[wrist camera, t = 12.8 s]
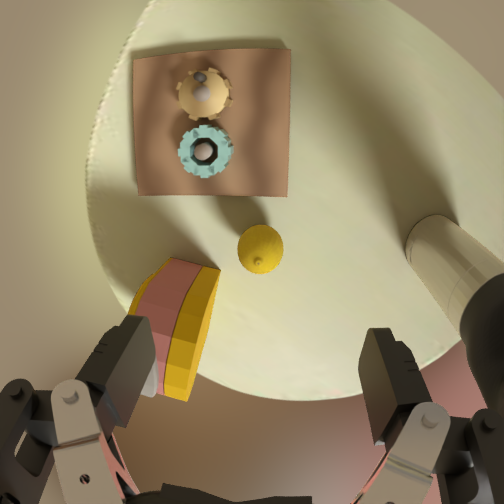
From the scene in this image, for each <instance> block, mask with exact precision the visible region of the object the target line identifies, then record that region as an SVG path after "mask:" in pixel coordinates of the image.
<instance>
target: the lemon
mask: <svg viewBox="0 0 504 504" xmlns="http://www.w3.org/2000/svg"><path fill="white" fill-rule="evenodd" d="M282 255H283V242H282V239H281V237H280V235H279V234H278V232H277V231H276V230H274V229H273V228H272V227H270V226H267V225H255V226H252V227H250V228H248V229H247V230H246V231H245V232H244V233H243V234H242V236H241V237H240V239H239V243H238V256H239V260H240V262H241V264H242V265H243V266H244V267H245V268H246V269H247V270H248V271H250V272H252V273H255V274H265V273H268V272H270V271H272V270H273V269H275V268H276V266H277V265H278V264H279V262H280V260H281V258H282Z"/></svg>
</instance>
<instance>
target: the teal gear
mask: <svg viewBox="0 0 504 504" xmlns="http://www.w3.org/2000/svg"><path fill="white" fill-rule="evenodd" d="M227 135H228V133H227V132H226V131H225V130H224V129H221V130H220V129H219V128H218V127H212V125H199V127H198V128H193V129H192V130H190V131H187V132H186V133H185V134H184V135H183V136H182V137H183V138H184V139H183V140H182V141H181V142H180V148H178V156H181V163H182V164H183V165H184V166H185V167H184V169H185V170H186V171H187V172H188V173H190V172H192V173H193V174H194V175H200V177H201V178H209V177H210V176H211V175H215V174H216V173H217V172H218V171H219V172H220V173H221V172H222V171H223V170H224V169H225V168H226V167H227V166H228V165H229V164H228V163H227V162H228V161H229V160H230V159H231V155H232V154H233V153H234V145H231V139H230V138H229V137H228V136H227ZM201 138H210V139H211V140H212V141H214V142H215V143H216V144H217V145H218V158H217V159H216V160H215V161H214V162H206V163H203V162H202V161H201V160H199V159H197V158H196V157H195V155H194V150H195V144H196V143H197V142H198V141H199V140H200V139H201Z"/></svg>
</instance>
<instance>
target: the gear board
mask: <svg viewBox="0 0 504 504" xmlns="http://www.w3.org/2000/svg"><path fill="white" fill-rule="evenodd" d="M290 69H291V49H221V50H205V51H194V52H184V53H175V54H167V55H160V56H153V57H147V58H141V59H135V60H133V115H134V141H135V158H136V172H137V185H138V195H139V196H154V195H227V196H268V197H287V191H288V164H289V130H290ZM199 125H212V127H218V128H219V129H220V130H221V129H224V130H225V131H226V132H227V133H228V135H227V136H228V137H229V138H230V139H231V145H234V153H233V154H232V155H231V159H230V160H229V161H228V162H227V163H228V164H229V165H228V166H227V167H226V168H225V169H224V170H223V171H222V172H221V173H220V172H219V171H218V172H217V173H216V174H215V175H211V176H210V177H209V178H201V177H200V175H194V174H193V173H192V172H190V173H188V172H187V171H186V170H185V169H184V167H185V166H184V165H183V164H182V163H181V156H178V148H180V142H181V141H182V140H183V139H184V138H183V137H182V136H183V135H184V134H185V133H186V132H187V131H190V130H192V129H193V128H198V127H199ZM194 155H195V157H196V158H197V159H199V160H201V161H202V162H203V163H206V162H214V161H215V160H216V159H217V158H218V145H217V144H216V143H215V142H214V141H212V140H211V139H210V138H201V139H200V140H199V141H198V142H197V143H196V144H195V150H194Z"/></svg>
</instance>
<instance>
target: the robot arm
mask: <svg viewBox="0 0 504 504" xmlns="http://www.w3.org/2000/svg"><path fill="white" fill-rule="evenodd" d="M405 250H406V257H407V260H408V262H409V264H410V266H411V267H412V268H413V270H414V271H415V272H416V274H417V275H418V276H419V278H420V279H421V280H422V282H423V283H424V285H425V286H426V287H427V289H428V290H429V291H430V293H431V294H432V296H433V297H434V298H435V300H436V301H437V303H438V304H439V306H440V307H441V308H442V310H443V311H444V313H445V314H446V316H447V317H448V319H449V320H450V322H451V323H452V325H453V326H454V328H455V329H456V331H457V332H458V334H459V335H460V337H461V338H462V340H463V342H464V344H465V345H466V352H467V360H468V364H469V367H470V369H471V372H472V374H473V376H474V378H475V380H476V382H477V384H478V387H479V389H480V391H481V393H482V396H483V398H484V400H485V403H486V405H487V407H488V409H486V408H485V409H481V410H478V411H477V412H476V413H475V414H474V416H473V417H472V418H471V419H470V418H461V417H452V416H449V414H448V412H447V411H446V409H445V408H444V407H442V406H441V405H439V404H437V403H433V401H432V399H431V397H430V394H429V392H428V389H427V387H426V384H425V382H424V380H423V377H422V375H421V372H420V371H419V368H418V365H417V363H415V358H414V356H413V354H412V352H411V350H410V349H409V348H408V347H407V346H406V345H405V344H404V343H403V342H402V341H395V339H394V336H393V334H392V332H391V330H390V328H369V329H368V331H367V334H366V338H365V341H364V345H363V348H362V352H361V355H360V358H359V365H358V371H359V377H360V381H361V386H362V390H363V394H364V399H365V403H366V408H367V412H368V417H369V421H370V427H371V431H372V436H373V441H374V445H384V444H385V448H386V452H385V453H384V455H383V457H382V458H381V460H380V462H379V463H378V465H377V466H376V468H375V469H374V471H373V472H372V474H371V476H370V477H369V479H368V480H367V482H366V483H365V484H364V486H363V487H362V489H361V490H360V492H359V493H358V494H357V496H356V497H355V498H354V499H353V501H352V502H351V503H350V504H422V502H423V500H424V498H425V497H426V494H427V492H428V490H429V488H430V486H431V484H432V480H433V477H431V476H430V475H431V473H433V474H437V479H438V484H439V490H440V496H441V502H442V504H504V263H503V262H502V261H501V260H500V259H499V258H497V257H496V256H495V255H494V254H493V253H492V252H491V251H489V250H488V249H487V248H486V247H484V246H483V245H482V244H481V243H480V242H478V241H477V240H476V239H475V238H473V237H472V236H471V235H469V234H468V233H467V232H466V231H464V230H463V229H462V228H460V227H459V226H458V225H456V224H455V223H453V222H452V221H451V220H449V219H448V218H447V217H444V216H441V215H432V216H429V217H426V218H424V219H423V220H421V221H420V222H419V223H417V224H416V225H415V226H414V228H413V229H412V231H411V232H410V234H409V236H408V239H407V242H406V249H405ZM155 355H156V349H155V344H154V339H153V335H152V331H151V326H150V322H149V319H148V317H146V316H138V315H130V314H128V315H127V316H126V317H125V318H124V320H123V322H122V323H121V324H120V326H114V327H113V328H111V329H110V330H109V331H107V332H106V333H105V334H104V335H103V337H102V338H101V340H100V341H99V344H98V345H97V346H96V347H95V349H94V352H92V353H91V355H90V356H89V358H88V359H87V361H86V362H85V364H84V366H83V367H82V369H81V370H80V372H79V373H78V375H77V377H76V378H75V379H72V380H66V381H63V382H61V383H60V384H58V385H57V386H56V387H55V388H54V390H53V391H48V390H46V391H45V390H34V389H33V387H32V385H31V383H30V382H29V381H27V380H25V379H15V380H13V381H11V382H9V383H8V384H7V385H6V386H5V387H4V388H3V390H2V391H1V393H0V504H38V503H39V501H40V498H41V495H42V493H43V490H44V487H45V485H46V482H47V480H48V477H49V475H50V472H51V470H52V467H53V465H54V462H55V464H56V468H57V473H58V476H59V480H60V484H61V488H62V492H63V495H64V499H65V502H66V504H312V497H311V496H300V497H297V496H296V497H283V496H274V497H268V498H263V499H257V500H250V501H243V502H232V501H229V500H226V499H223V498H220V497H217V496H214V495H211V494H208V493H206V492H203V491H200V490H198V489H192V488H186V487H181V486H175V485H170V484H165V483H163V485H162V488H161V491H149V492H144V493H139V491H138V489H137V487H136V485H135V484H134V482H133V480H132V479H131V477H130V475H129V473H128V470H127V468H126V466H125V463H124V461H123V458H122V456H121V453H120V451H119V448H118V446H117V443H116V440H115V437H114V435H113V433H112V432H113V429H114V427H115V425H116V426H120V427H124V428H126V427H127V424H128V422H129V419H130V417H131V415H132V412H133V410H134V408H135V405H136V403H137V400H138V398H139V396H140V393H141V391H142V389H143V387H144V384H145V382H146V380H147V377H148V375H149V373H150V371H151V368H152V366H153V364H154V361H155ZM24 430H25V432H26V433H27V434H26V436H25V438H24V441H23V442H22V444H21V447H20V449H19V451H18V453H17V455H16V457H15V455H14V452H15V448H16V446H17V444H18V442H19V440H20V438H21V436H22V434H23V432H24Z"/></svg>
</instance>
